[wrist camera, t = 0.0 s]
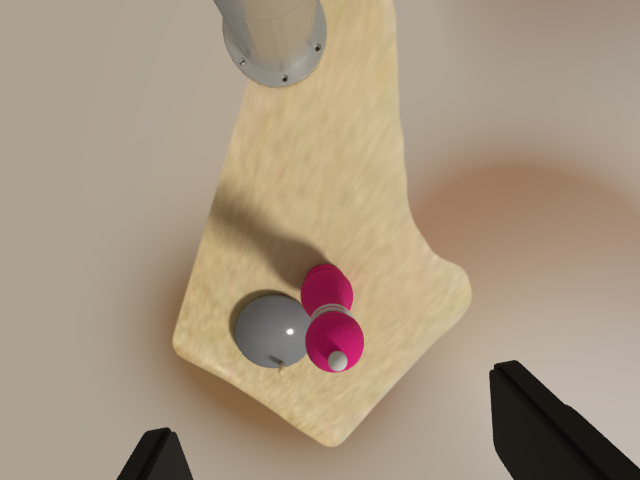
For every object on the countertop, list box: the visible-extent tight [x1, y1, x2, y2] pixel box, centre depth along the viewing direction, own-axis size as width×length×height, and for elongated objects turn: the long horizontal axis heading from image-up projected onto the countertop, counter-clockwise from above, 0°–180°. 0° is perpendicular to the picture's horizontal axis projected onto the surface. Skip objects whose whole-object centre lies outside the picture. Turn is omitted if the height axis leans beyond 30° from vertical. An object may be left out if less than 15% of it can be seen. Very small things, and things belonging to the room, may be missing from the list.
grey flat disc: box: [235, 294, 311, 374], centre depth 47 cm, size 12×12×3 cm
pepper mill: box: [301, 264, 364, 373], centre depth 37 cm, size 7×7×20 cm
